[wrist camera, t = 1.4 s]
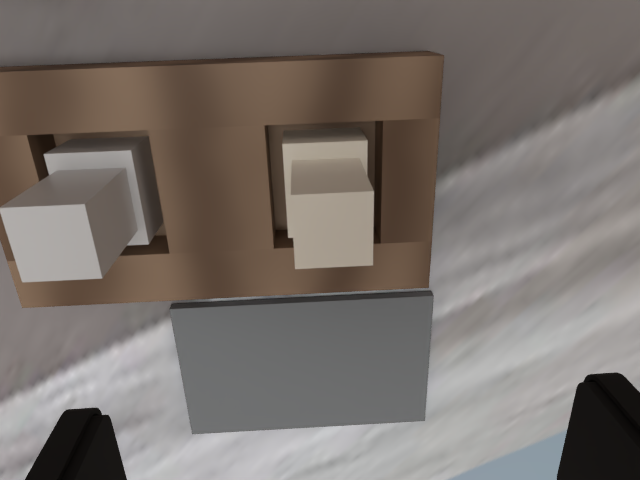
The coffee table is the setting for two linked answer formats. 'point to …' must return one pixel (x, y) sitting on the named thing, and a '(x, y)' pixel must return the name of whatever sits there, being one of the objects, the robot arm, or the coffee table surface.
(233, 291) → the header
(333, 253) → the ivory plug
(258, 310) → the mat
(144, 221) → the grey plug
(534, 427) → the coffee table surface
